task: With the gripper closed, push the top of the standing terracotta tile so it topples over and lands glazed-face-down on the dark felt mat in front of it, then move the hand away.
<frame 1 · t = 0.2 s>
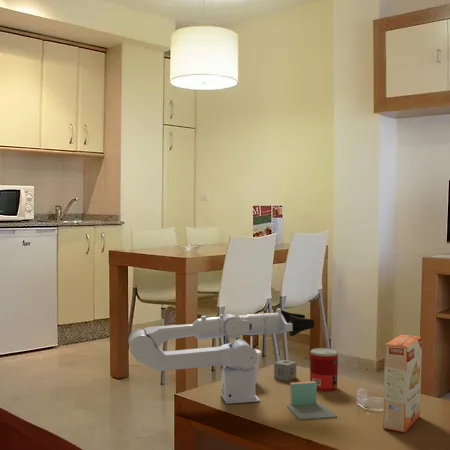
hand: (309, 321, 171), 21 cm above the table, tool horizontal, fingers open, 7 cm apart
cracker box: (402, 423, 149), on the table
dice cube: (285, 378, 188), on the table
mat: (311, 412, 157), on the table
tile: (303, 393, 163), point 3 cm above the table
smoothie: (250, 383, 182), on the table
canned food: (323, 388, 178), on the table
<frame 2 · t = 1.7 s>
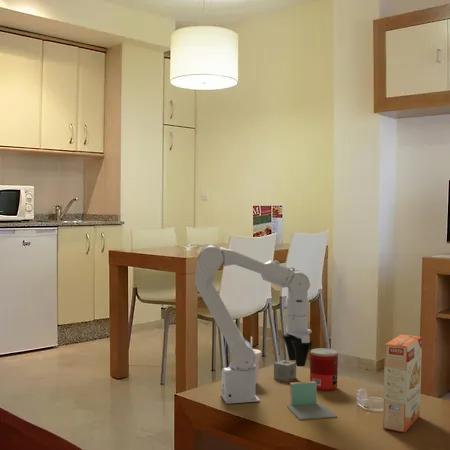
hand: (296, 362, 168), 10 cm above the table, tool pointing down, fingers open, 6 cm apart
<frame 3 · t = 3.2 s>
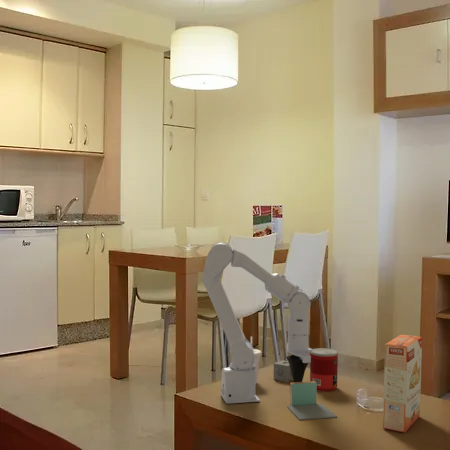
hand: (297, 382, 167), 5 cm above the table, tool pointing down, fingers closed
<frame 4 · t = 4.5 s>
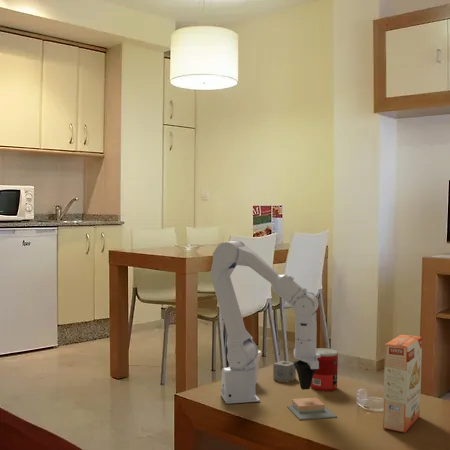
hand: (305, 388, 161), 5 cm above the table, tool pointing down, fingers closed
tile: (308, 404, 159), point 1 cm above the table, tilted 90°, touching mat
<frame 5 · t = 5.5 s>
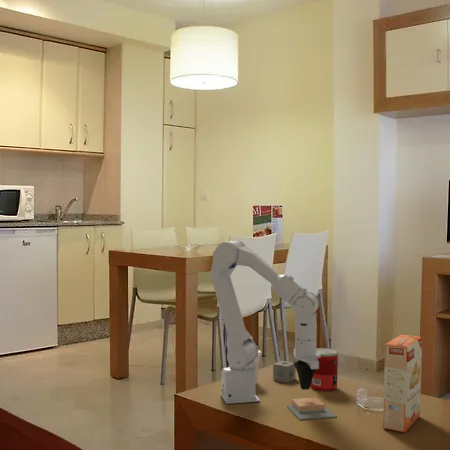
hand: (305, 388, 161), 5 cm above the table, tool pointing down, fingers closed
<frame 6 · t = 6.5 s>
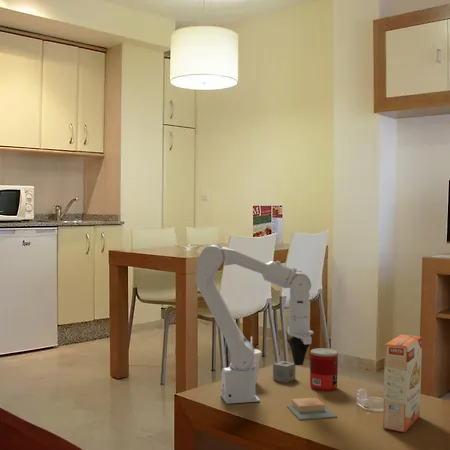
hand: (298, 364, 166), 10 cm above the table, tool pointing down, fingers closed
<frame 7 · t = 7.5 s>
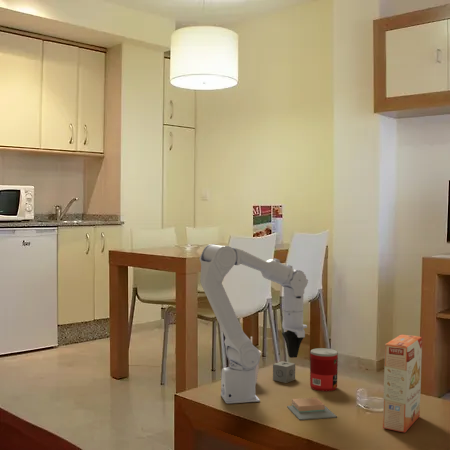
hand: (292, 357, 174), 10 cm above the table, tool pointing down, fingers closed
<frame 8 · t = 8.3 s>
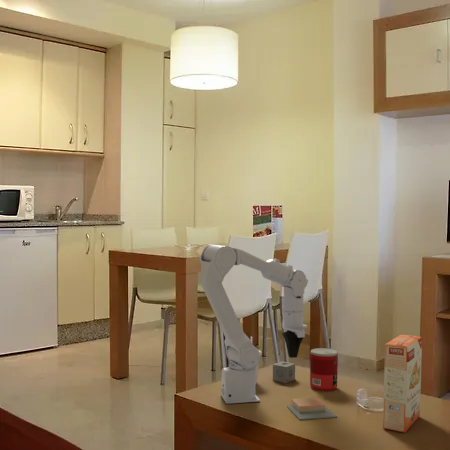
hand: (292, 357, 174), 10 cm above the table, tool pointing down, fingers closed
at the end: tile tilted 90°; tile inside the target area on the mat (0.6 cm from its centre), point 1.1 cm above the mat's base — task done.
